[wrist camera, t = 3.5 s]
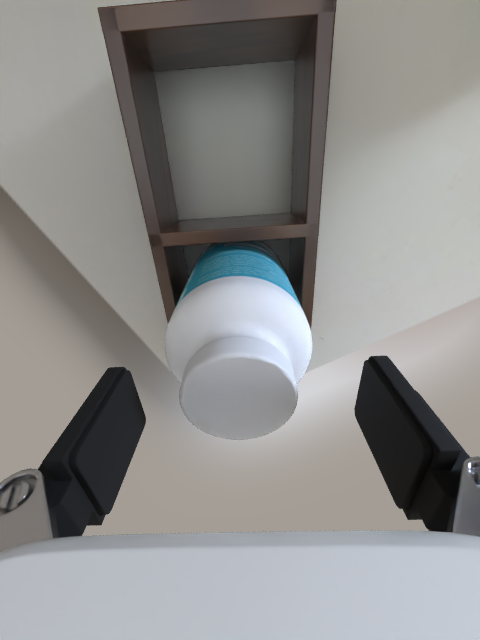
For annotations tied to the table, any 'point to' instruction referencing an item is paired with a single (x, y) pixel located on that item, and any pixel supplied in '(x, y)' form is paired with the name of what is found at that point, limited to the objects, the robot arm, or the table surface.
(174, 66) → the rack
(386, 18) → the table surface
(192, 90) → the table surface
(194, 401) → the pill bottle
